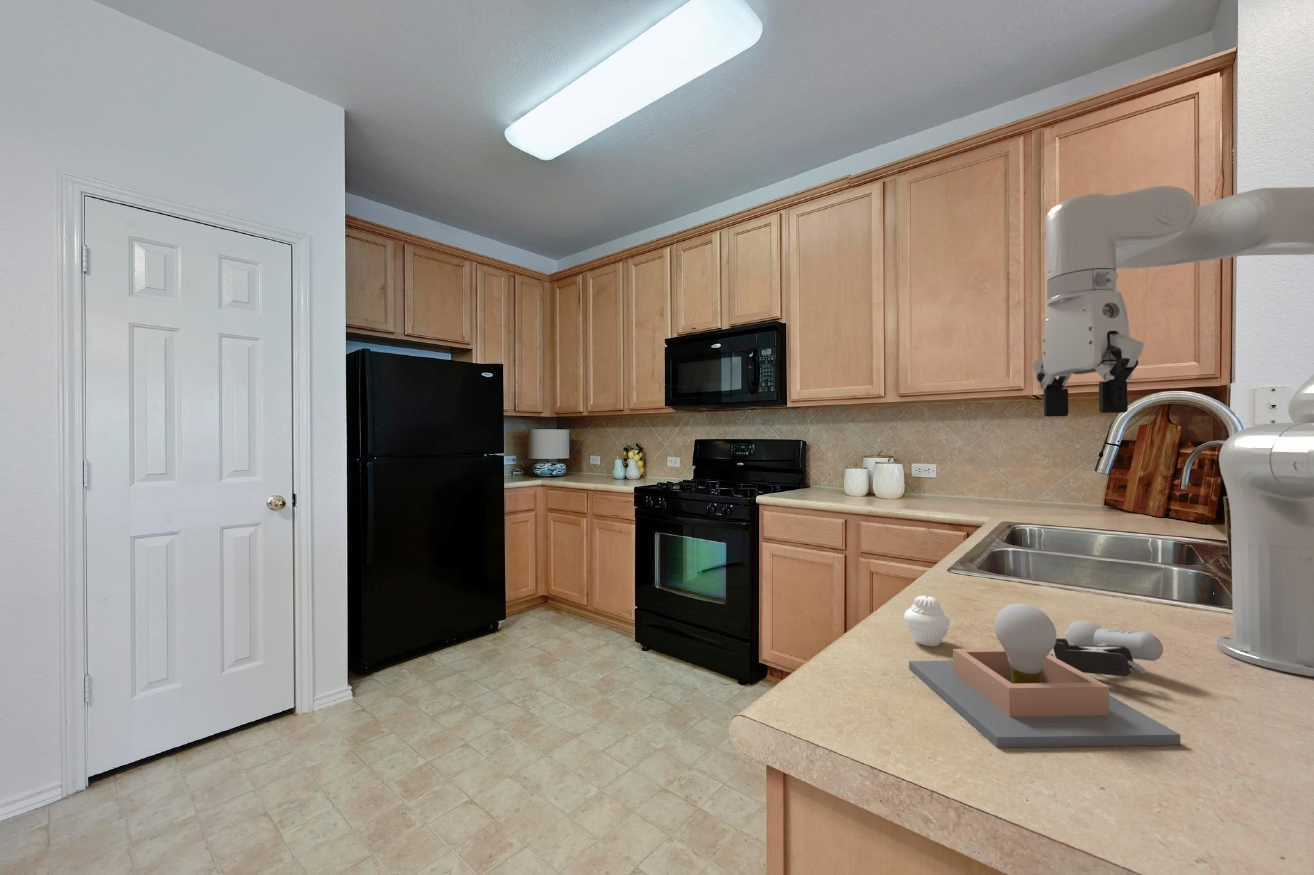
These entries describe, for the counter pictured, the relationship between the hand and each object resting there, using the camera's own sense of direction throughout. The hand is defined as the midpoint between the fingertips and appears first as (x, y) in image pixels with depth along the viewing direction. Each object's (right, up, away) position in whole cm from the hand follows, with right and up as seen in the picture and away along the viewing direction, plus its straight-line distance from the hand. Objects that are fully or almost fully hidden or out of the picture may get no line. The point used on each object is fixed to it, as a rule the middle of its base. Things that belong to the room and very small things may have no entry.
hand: (1082, 414), depth 73 cm
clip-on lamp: (-3, -34, -1) cm, 34 cm away
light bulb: (-16, -33, -12) cm, 39 cm away
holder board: (-17, -33, -12) cm, 39 cm away
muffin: (-19, -34, +6) cm, 39 cm away
